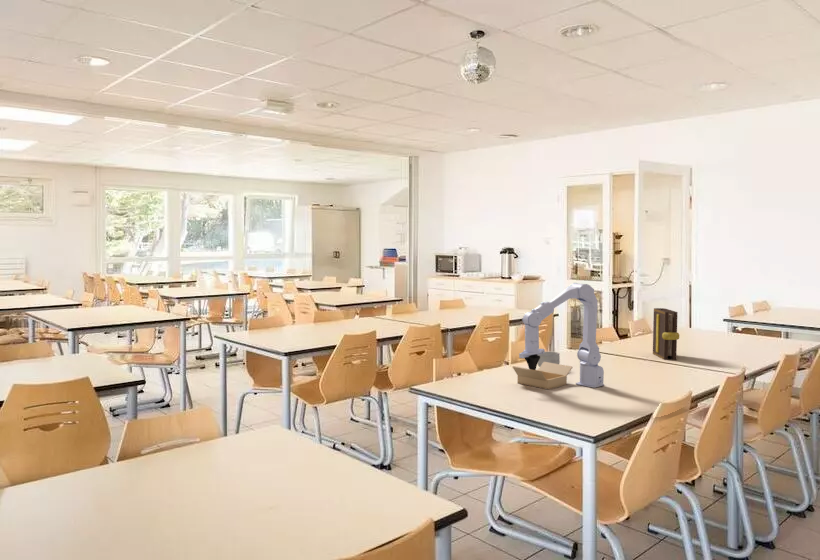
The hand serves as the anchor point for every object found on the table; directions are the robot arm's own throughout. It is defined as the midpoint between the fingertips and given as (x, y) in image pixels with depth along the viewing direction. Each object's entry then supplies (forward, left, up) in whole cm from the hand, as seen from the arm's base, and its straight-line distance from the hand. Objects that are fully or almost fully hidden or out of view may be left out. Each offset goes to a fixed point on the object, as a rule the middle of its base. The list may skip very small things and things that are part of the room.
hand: (532, 372), depth 264 cm
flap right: (+2, -18, -1) cm, 19 cm away
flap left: (+2, -1, 0) cm, 2 cm away
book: (-2, -111, -7) cm, 112 cm away
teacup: (+20, -39, -7) cm, 45 cm away
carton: (+2, -9, -7) cm, 12 cm away
